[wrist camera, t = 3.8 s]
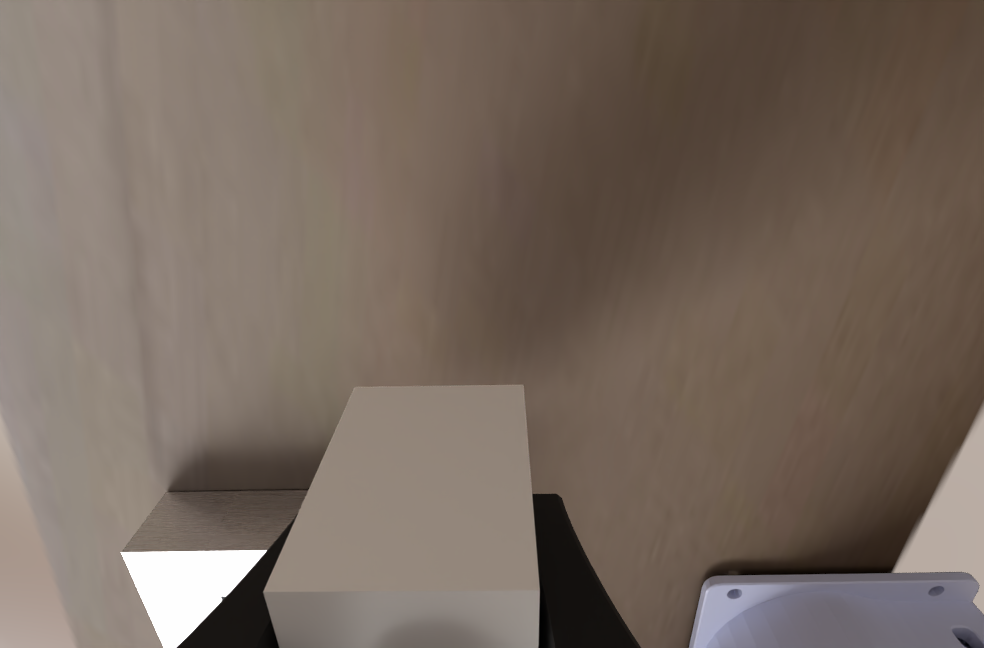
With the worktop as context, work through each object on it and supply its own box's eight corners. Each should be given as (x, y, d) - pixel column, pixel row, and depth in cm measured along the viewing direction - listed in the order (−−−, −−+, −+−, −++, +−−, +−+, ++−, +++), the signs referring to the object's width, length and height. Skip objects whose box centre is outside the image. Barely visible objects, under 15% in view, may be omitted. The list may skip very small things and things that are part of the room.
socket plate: (473, 487, 18) (469, 565, 15) (481, 676, 22) (480, 762, 19) (165, 492, 18) (107, 570, 15) (235, 679, 22) (200, 765, 19)
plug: (523, 384, 12) (546, 667, 6) (523, 543, 14) (539, 862, 8) (355, 386, 12) (228, 668, 6) (378, 544, 14) (298, 862, 8)
